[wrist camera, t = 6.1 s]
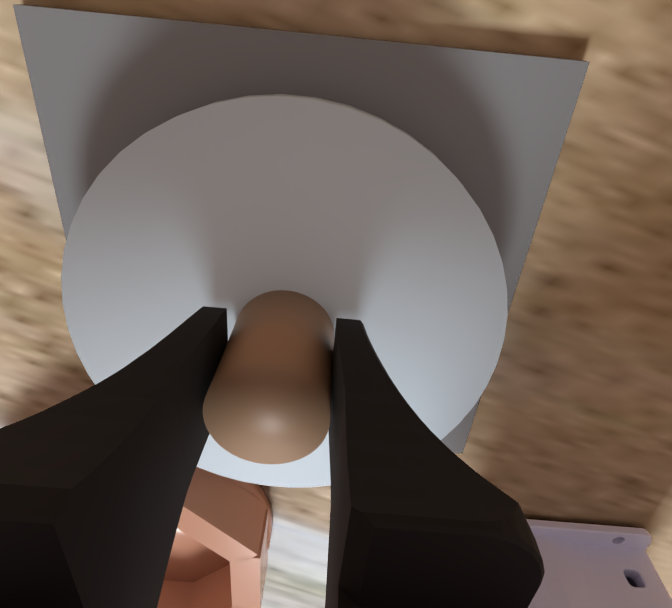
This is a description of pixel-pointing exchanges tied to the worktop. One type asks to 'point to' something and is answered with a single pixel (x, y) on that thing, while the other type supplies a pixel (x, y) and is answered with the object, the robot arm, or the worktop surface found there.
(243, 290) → the lid
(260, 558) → the bowl
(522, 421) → the worktop surface
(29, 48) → the mat
